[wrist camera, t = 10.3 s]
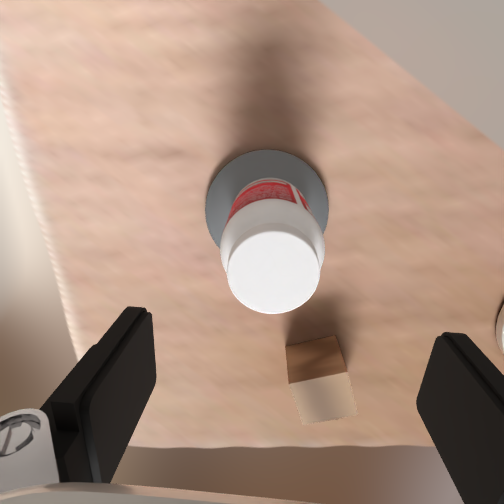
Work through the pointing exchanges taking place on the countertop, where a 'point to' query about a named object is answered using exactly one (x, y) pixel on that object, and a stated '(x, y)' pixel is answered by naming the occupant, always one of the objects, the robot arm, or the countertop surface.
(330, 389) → the light brown wooden block
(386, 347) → the countertop surface
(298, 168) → the coaster
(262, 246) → the pill bottle
